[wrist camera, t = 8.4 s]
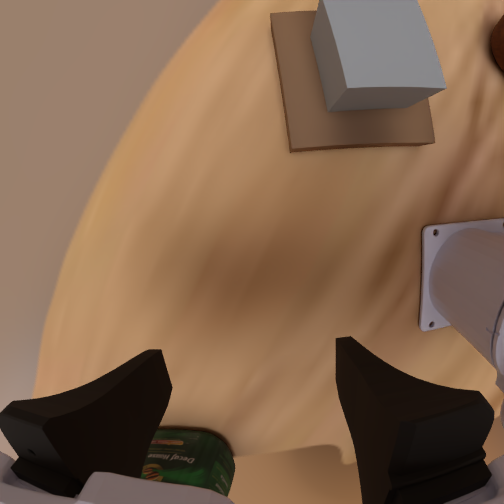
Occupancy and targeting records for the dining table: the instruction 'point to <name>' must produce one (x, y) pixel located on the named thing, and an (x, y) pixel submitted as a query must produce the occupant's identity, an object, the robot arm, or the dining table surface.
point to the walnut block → (314, 105)
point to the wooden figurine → (498, 43)
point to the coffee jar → (189, 460)
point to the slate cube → (374, 54)
